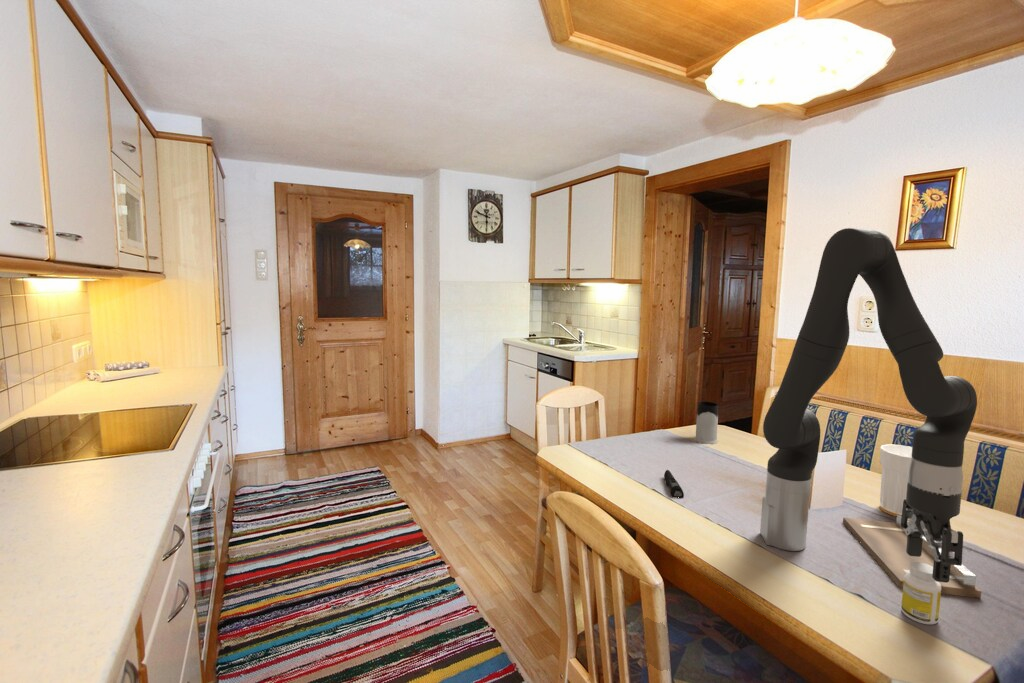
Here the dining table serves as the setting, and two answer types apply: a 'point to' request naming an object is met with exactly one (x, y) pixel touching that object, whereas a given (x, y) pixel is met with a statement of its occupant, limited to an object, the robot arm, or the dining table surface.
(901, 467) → the cup
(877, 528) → the brown flat wooden board
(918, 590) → the supplement bottle
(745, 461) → the dining table surface
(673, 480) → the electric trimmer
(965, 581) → the metal straightedge
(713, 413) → the glass holder
